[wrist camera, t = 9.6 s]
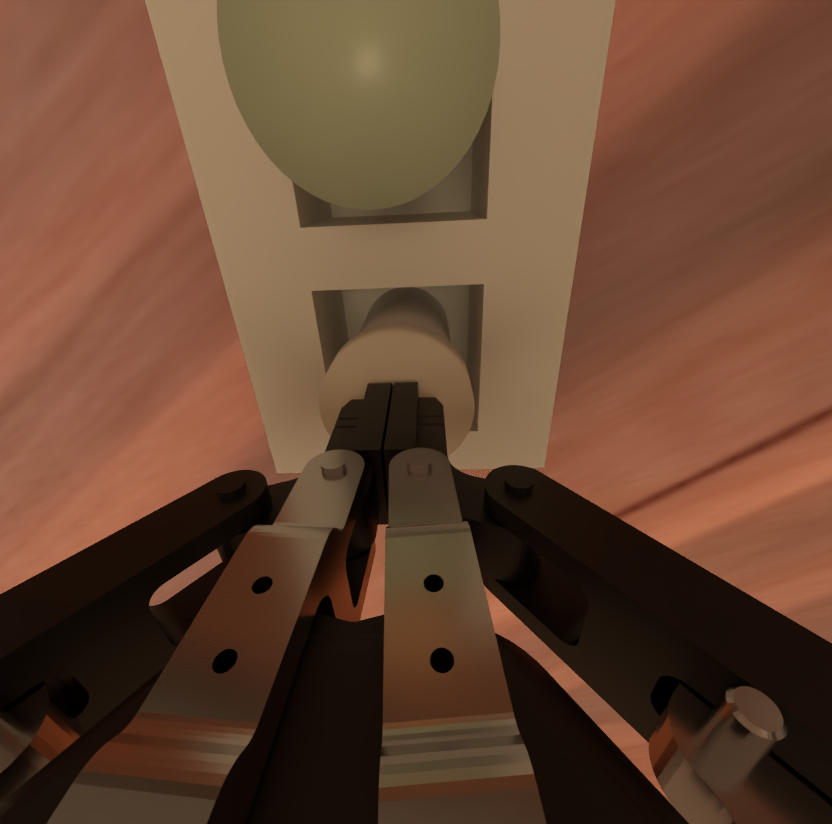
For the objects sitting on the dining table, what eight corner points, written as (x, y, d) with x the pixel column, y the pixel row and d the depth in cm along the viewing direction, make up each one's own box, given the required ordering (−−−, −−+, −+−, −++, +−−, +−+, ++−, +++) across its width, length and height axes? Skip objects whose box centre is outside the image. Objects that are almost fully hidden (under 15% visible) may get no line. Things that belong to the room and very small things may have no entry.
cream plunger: (456, 275, 18) (477, 333, 11) (455, 371, 20) (472, 470, 13) (352, 279, 18) (306, 339, 11) (364, 374, 20) (331, 473, 13)
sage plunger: (462, 26, 12) (511, -189, 5) (460, 196, 15) (492, 204, 8) (314, 35, 13) (173, -160, 6) (335, 202, 15) (256, 215, 8)
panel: (608, -535, 9) (833, -1420, 4) (516, 402, 22) (544, 467, 17) (130, -478, 10) (-194, -1212, 5) (310, 408, 23) (277, 473, 18)
